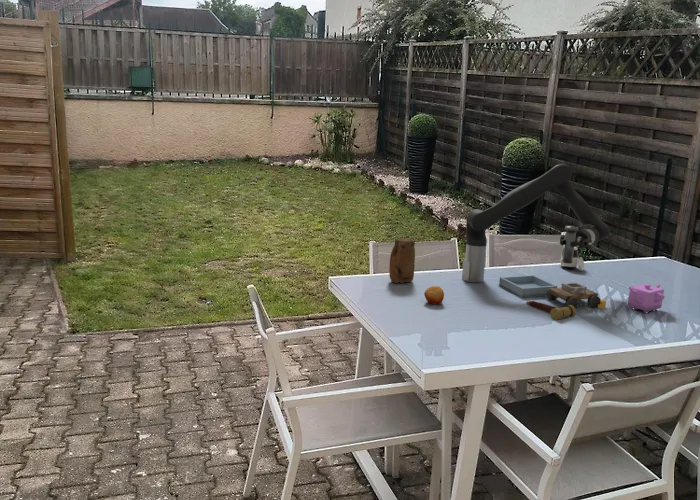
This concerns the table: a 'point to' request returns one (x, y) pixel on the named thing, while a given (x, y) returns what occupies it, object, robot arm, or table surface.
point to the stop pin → (569, 244)
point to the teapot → (645, 297)
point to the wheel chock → (602, 304)
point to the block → (402, 261)
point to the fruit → (434, 295)
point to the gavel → (555, 310)
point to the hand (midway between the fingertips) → (567, 243)
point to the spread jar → (574, 262)
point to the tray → (526, 285)
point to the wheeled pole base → (574, 294)
